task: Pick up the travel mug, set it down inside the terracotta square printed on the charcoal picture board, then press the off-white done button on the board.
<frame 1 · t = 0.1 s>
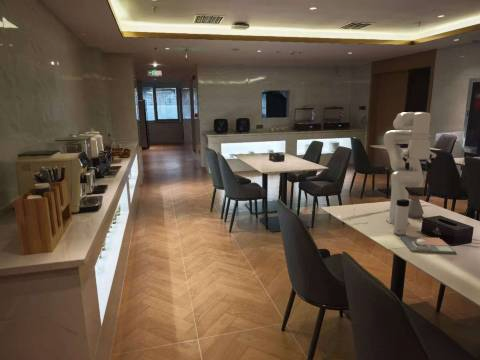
hand: (416, 170, 176), 36 cm above the table, tool pointing down, fingers open, 9 cm apart
done button: (421, 242, 166), point 4 cm above the table, slide at 0.0 cm
travel mug: (400, 234, 186), on the table
picture board: (426, 245, 170), on the table
coffee pot: (409, 213, 222), on the table
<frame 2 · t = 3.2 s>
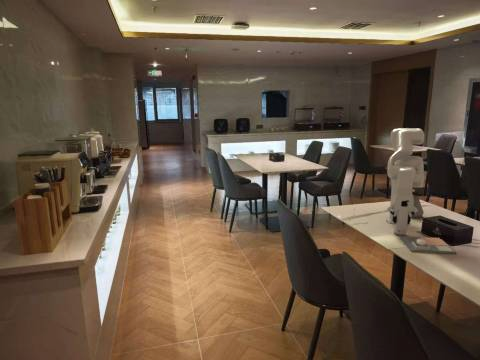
hand: (401, 222, 185), 7 cm above the table, tool pointing down, fingers closed on travel mug, 6 cm apart
travel mug: (400, 234, 186), on the table, touching gripper
everything else where it was.
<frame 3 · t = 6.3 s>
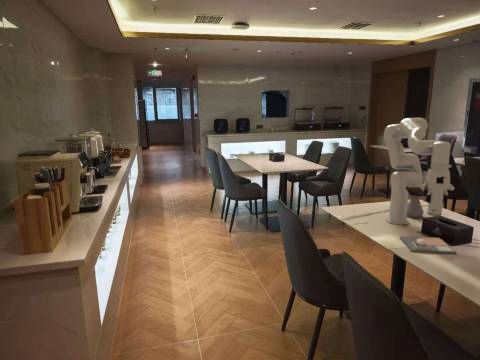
hand: (435, 201, 169), 22 cm above the table, tool pointing down, fingers closed on travel mug, 6 cm apart
travel mug: (434, 215, 171), point 15 cm above the table, touching gripper
everything else where it was.
when the fingers open (9 cm above the table, at t = 9.3 s): travel mug drops 1 cm, resting on picture board.
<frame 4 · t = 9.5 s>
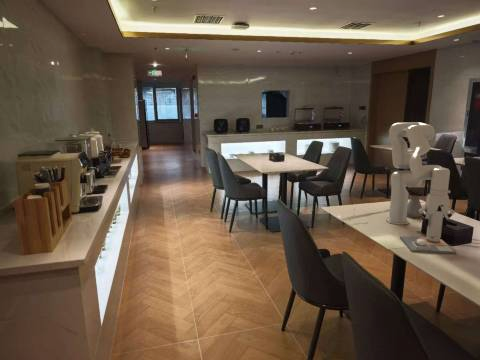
hand: (434, 225, 171), 9 cm above the table, tool pointing down, fingers open, 8 cm apart
travel mug: (433, 241, 173), point 1 cm above the table, touching picture board
everything else where it was.
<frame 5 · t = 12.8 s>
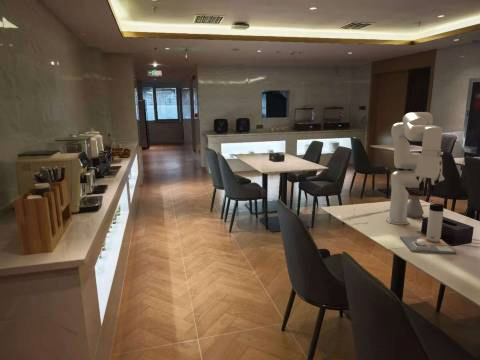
hand: (426, 191, 160), 29 cm above the table, tool pointing down, fingers open, 4 cm apart
nothing on the table moved.
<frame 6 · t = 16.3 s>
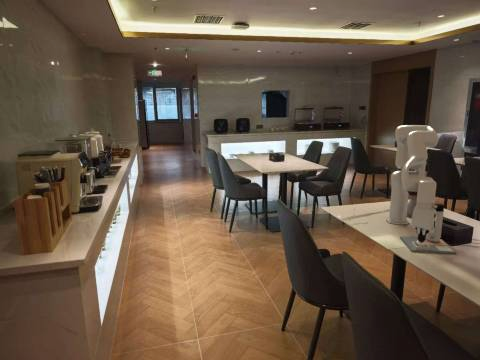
hand: (421, 241, 165), 4 cm above the table, tool pointing down, fingers closed
done button: (421, 243, 166), point 3 cm above the table, slide at 0.5 cm, touching gripper
everything else where it was.
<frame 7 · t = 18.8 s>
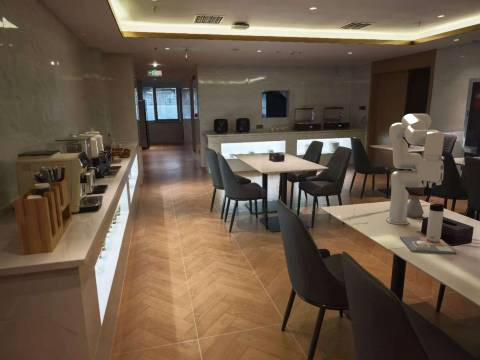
hand: (427, 194, 165), 27 cm above the table, tool pointing down, fingers closed
done button: (421, 244, 166), point 3 cm above the table, slide at 0.9 cm
everything else where it was.
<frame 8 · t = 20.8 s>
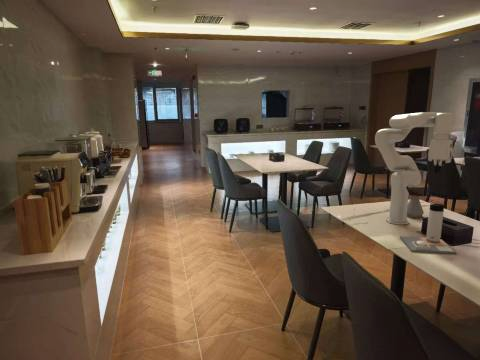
hand: (437, 172, 175), 35 cm above the table, tool pointing down, fingers closed
nothing on the table moved.
at the end: travel mug inside the target area on the picture board (0.2 cm from its centre), point 0.9 cm above the picture board's base; travel mug tilted 0°; done button slide at 0.9 cm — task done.
